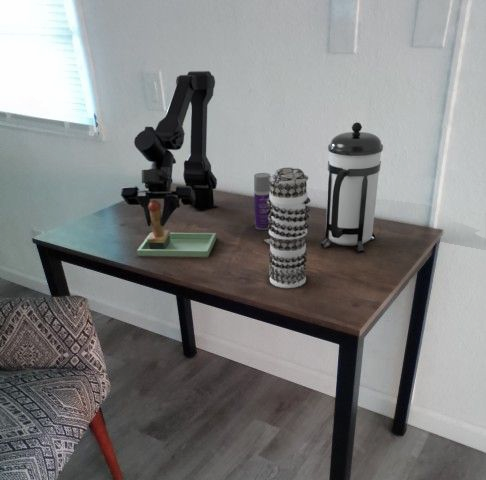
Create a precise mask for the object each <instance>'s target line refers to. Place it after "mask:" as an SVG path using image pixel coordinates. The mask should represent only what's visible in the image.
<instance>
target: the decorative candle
mask: <svg viewBox="0 0 486 480" xmlns="http://www.w3.org/2000/svg"><path fill="white" fill-rule="evenodd" d="M269 180H270V193H269V197H268V200H267V201H266V202H267V206H268V207H267V209H268V210H267V212H268V213H269V216H268V228H269V229H268V234H269V236H270V239H271V244H269V251H268V256H269V260H268V262H269V263H270V264H269V266H268V270H269V272H268V273H269V274H268V275H269V282H270V283H271V284H272V285H273V286H274V287H278V288H281V289H294V288H295V289H296V288H298V287H301V286H303V285H304V284H306V281H307V277H306V276H307V268H308V267H307V264H306V263H307V260H308V259H307V255H308V251H307V244H306V235H307V234H308V228H309V224H308V223H307V222H306V221H307V220H308V219H309V218H310V215H309V214H308V213H309V212H310V207H309V206H307V205H308V204H310V202H311V199H310V197H308V191H307V187H308V186H307V181H308V180H309V176H308V175H306V174H305V173H304V171H303V170H302V169H300V168H298V167H282V168H278V169H276V170H275V171H274V173H273V174H272V175H270V178H269ZM270 201H271V203H270ZM270 209H271V211H270Z"/></svg>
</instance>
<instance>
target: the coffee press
mask: <svg viewBox="0 0 486 480" xmlns="http://www.w3.org/2000/svg"><path fill="white" fill-rule="evenodd" d="M362 128H363V126H362V124H361V123H360V122H359V121H358V122H354V123H353V124H352V125H351V130H352V131H347V132H343V133H339V134H337V135H335V136H334V137H333V138H332V139H331V140H330V143H329V144H328V146H327V150H328V161H327V173H328V177H327V196H326V215H325V216H326V218H325V236H324V238H323V239H322V240H321V243H320V244H321V246H322V247H323V248H325V249H326V248H328V247H329V246H330V245H331V244H332V243H334V244H337V245H340V246H353V247H354V248H355V251H356V253H357V254H363V253H364V252H365V248H364V244H365V243H367V242H368V241H374V240H375V239H376V236H375V233H374V232H373V231H374V221H375V215H376V214H375V213H376V204H377V194H378V185H379V173H380V171H381V164H382V161H381V155H382V152H383V150H384V145H383V144H382V140H381V139H380V137H379V136H377V135H376V134H374V133H370V132H365V131H361V130H362Z"/></svg>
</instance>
